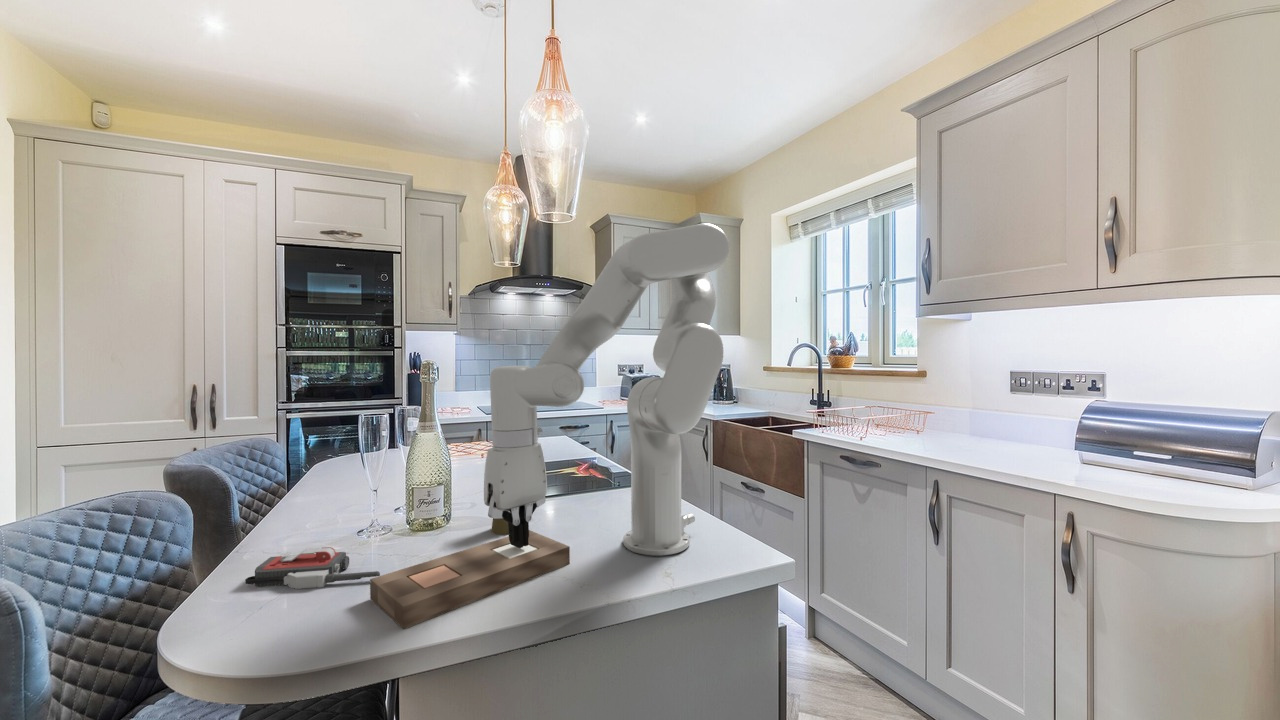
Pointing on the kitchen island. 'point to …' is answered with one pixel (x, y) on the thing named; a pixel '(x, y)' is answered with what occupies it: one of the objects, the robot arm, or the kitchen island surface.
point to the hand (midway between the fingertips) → (519, 544)
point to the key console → (464, 578)
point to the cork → (500, 527)
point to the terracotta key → (433, 577)
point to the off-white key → (513, 550)
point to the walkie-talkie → (305, 569)
